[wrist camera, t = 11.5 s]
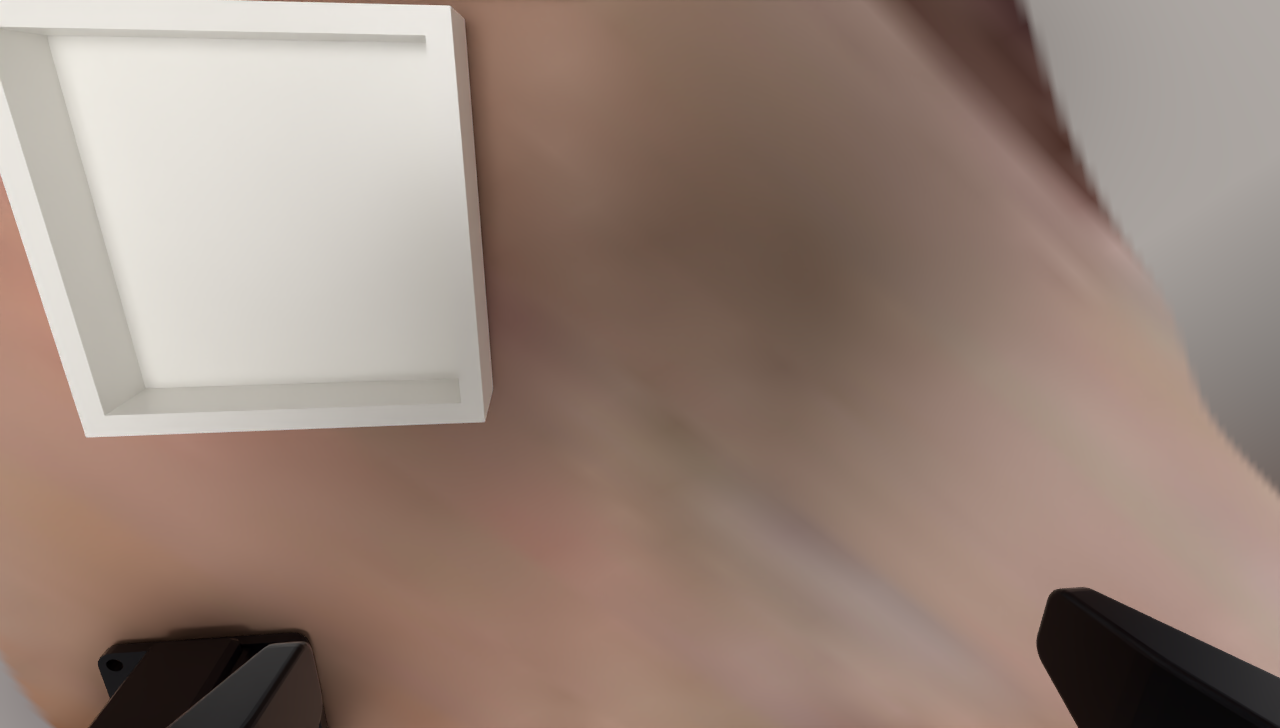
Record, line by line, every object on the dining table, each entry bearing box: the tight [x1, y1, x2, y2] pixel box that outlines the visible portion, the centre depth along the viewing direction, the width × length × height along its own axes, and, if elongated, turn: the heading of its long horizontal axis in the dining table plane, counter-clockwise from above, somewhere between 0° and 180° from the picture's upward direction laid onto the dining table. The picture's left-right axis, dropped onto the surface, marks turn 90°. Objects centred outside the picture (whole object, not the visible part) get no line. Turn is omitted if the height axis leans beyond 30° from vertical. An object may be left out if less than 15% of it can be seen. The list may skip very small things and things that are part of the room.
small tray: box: [0, 0, 493, 437], centre depth 17 cm, size 10×10×2 cm
